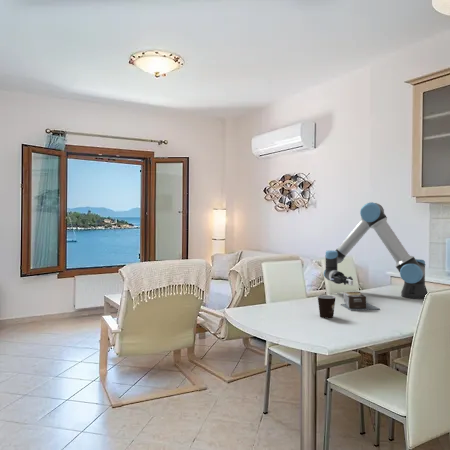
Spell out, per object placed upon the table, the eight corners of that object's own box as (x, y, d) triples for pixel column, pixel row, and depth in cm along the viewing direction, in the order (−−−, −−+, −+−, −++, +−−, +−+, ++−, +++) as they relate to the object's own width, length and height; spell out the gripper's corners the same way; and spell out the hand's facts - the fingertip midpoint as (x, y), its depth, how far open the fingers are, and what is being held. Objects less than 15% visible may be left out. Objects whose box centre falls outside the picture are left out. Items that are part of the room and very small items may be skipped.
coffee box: (359, 291, 239) (366, 296, 223) (359, 302, 239) (366, 308, 223) (343, 291, 240) (349, 296, 224) (343, 302, 240) (349, 308, 224)
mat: (367, 304, 238) (367, 303, 238) (379, 309, 224) (379, 308, 224) (340, 304, 237) (340, 303, 237) (351, 310, 222) (350, 309, 222)
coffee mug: (325, 319, 203) (325, 299, 203) (314, 316, 211) (314, 296, 210) (343, 317, 208) (343, 296, 208) (331, 313, 216) (331, 294, 216)
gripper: (347, 282, 263) (362, 289, 239) (326, 283, 262) (340, 289, 238) (347, 270, 263) (362, 276, 239) (326, 271, 261) (340, 276, 238)
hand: (351, 283), depth 239 cm, fingers closed
